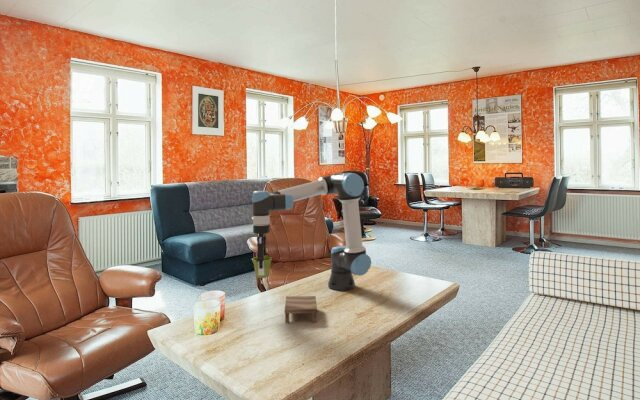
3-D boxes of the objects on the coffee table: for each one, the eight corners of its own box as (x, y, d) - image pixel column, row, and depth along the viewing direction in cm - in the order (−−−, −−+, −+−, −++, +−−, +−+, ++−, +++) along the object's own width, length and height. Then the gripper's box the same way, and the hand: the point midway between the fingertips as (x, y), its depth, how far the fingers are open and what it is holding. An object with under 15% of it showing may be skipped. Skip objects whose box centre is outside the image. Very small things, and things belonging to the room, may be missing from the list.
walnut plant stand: (286, 308, 191) (286, 296, 191) (315, 308, 192) (315, 295, 191) (284, 323, 173) (284, 309, 173) (317, 322, 174) (317, 309, 174)
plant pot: (248, 277, 186) (247, 258, 186) (263, 272, 193) (263, 255, 192) (260, 280, 180) (260, 261, 179) (276, 276, 187) (276, 258, 186)
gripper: (255, 221, 195) (256, 266, 197) (250, 228, 173) (251, 279, 175) (271, 221, 196) (272, 266, 198) (267, 227, 174) (268, 278, 176)
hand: (262, 272), depth 186 cm, fingers closed on plant pot, 9 cm apart
